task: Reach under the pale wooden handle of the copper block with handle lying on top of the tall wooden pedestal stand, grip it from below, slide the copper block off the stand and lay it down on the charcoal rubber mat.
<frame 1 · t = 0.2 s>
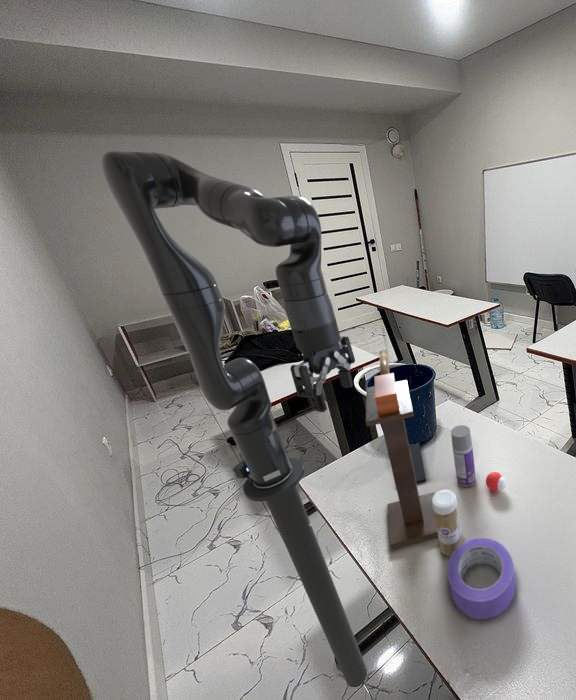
hand: (335, 398, 69), 31 cm above the table, tool pointing down, fingers open, 8 cm apart
tape roll: (482, 585, 65), on the table
sprinkles bottle: (451, 547, 72), on the table
drying mat: (409, 462, 96), on the table
container: (466, 480, 89), on the table
molecule: (497, 488, 85), on the table
copper block with handle: (388, 398, 66), point 32 cm above the table, touching wooden pedestal stand
wooden pedestal stand: (414, 521, 79), on the table
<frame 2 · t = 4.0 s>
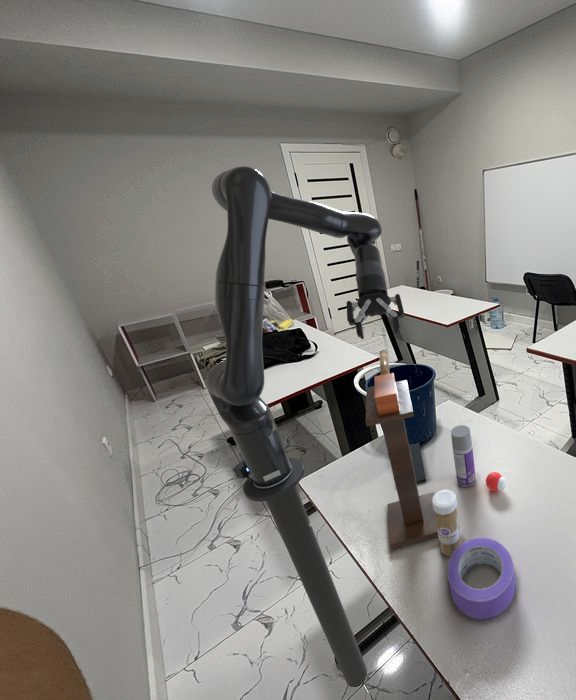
hand: (379, 334, 90), 34 cm above the table, tool tilted 45°, fingers open, 8 cm apart
nothing on the table moved.
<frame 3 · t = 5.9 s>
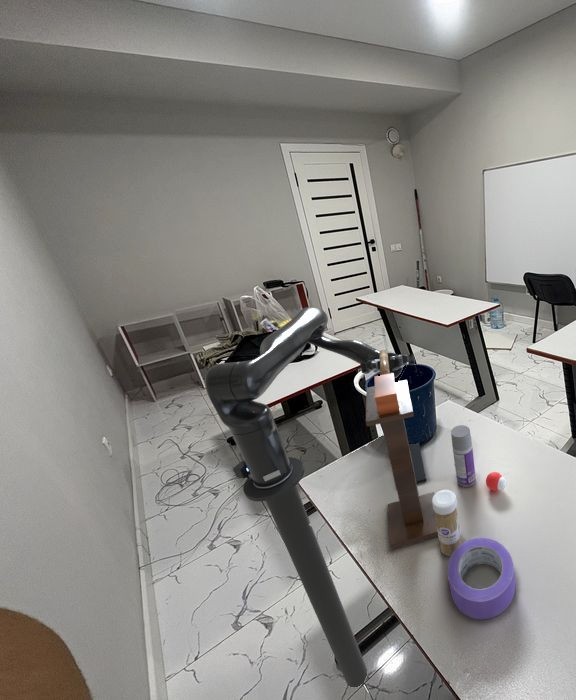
hand: (386, 361, 90), 28 cm above the table, tool pointing upward, fingers open, 8 cm apart
nothing on the table moved.
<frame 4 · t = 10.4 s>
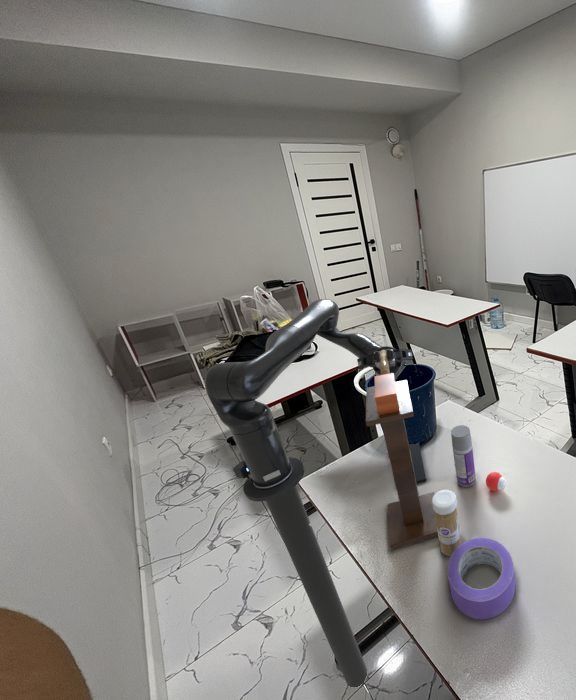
hand: (382, 355, 76), 35 cm above the table, tool pointing upward, fingers closed on copper block with handle, 2 cm apart
copper block with handle: (388, 398, 66), point 32 cm above the table, touching wooden pedestal stand, gripper
everything else where it was.
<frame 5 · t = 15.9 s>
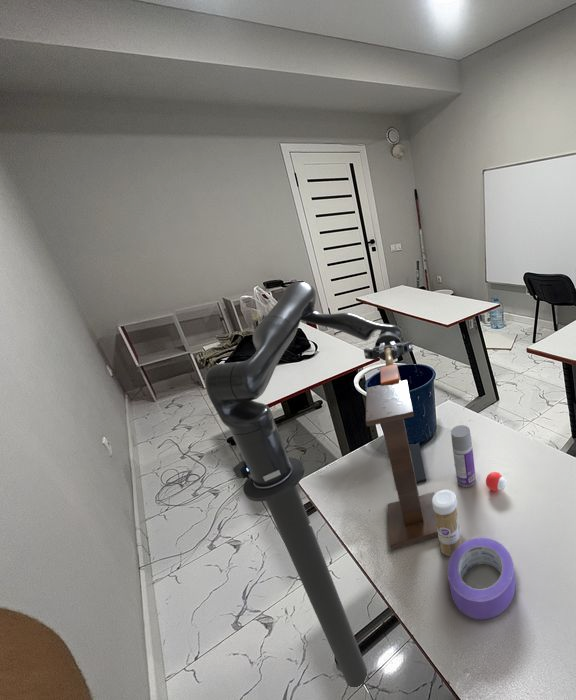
hand: (388, 354, 87), 31 cm above the table, tool horizontal, fingers closed on copper block with handle, 2 cm apart
copper block with handle: (392, 385, 77), point 29 cm above the table, touching wooden pedestal stand, gripper
everything else where it was.
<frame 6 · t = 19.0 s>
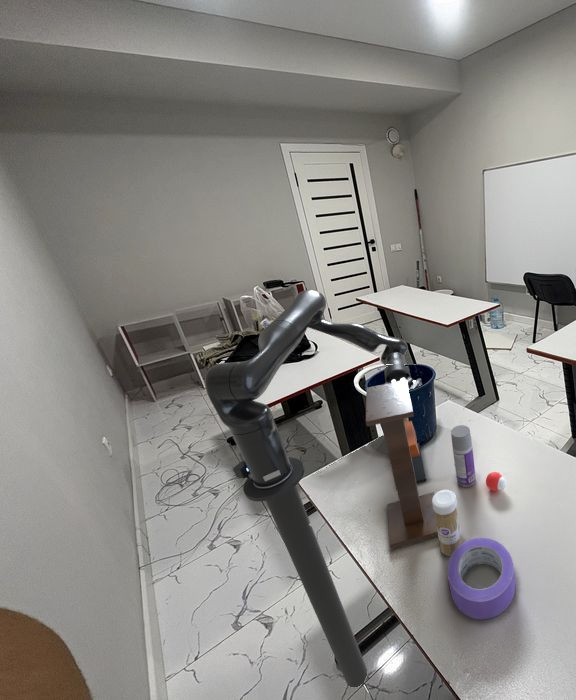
hand: (401, 403, 93), 16 cm above the table, tool horizontal, fingers closed on copper block with handle, 2 cm apart
copper block with handle: (409, 442, 84), point 12 cm above the table, tilted 9°, touching gripper
everything else where it was.
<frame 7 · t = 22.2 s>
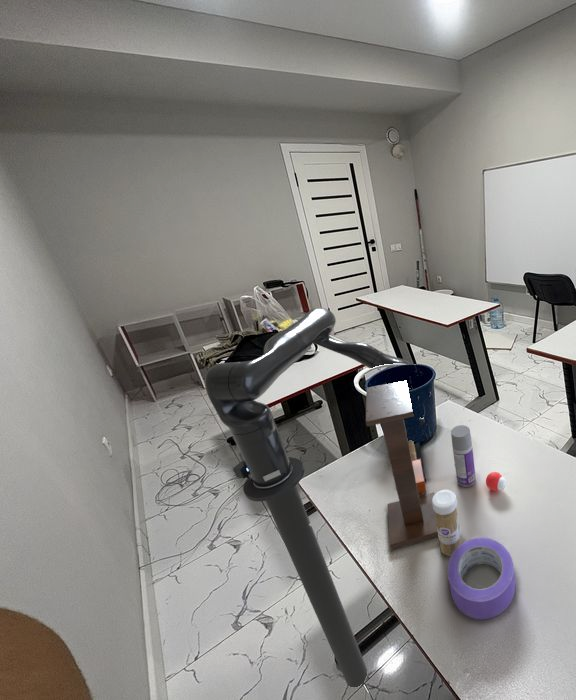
hand: (406, 425, 97), 8 cm above the table, tool horizontal, fingers open, 7 cm apart
copper block with handle: (416, 479, 89), point 1 cm above the table, touching drying mat
everything else where it was.
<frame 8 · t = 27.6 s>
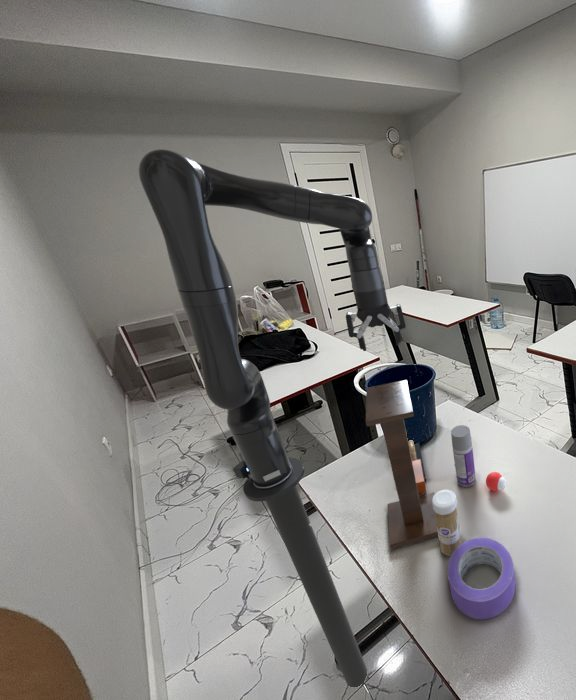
hand: (381, 347, 93), 30 cm above the table, tool pointing down, fingers open, 8 cm apart
nothing on the table moved.
at the end: copper block with handle inside the target area (3.1 cm from its centre), point 0.6 cm above the table; copper block with handle moved 33.6 cm from its start; the gripper is holding nothing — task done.
